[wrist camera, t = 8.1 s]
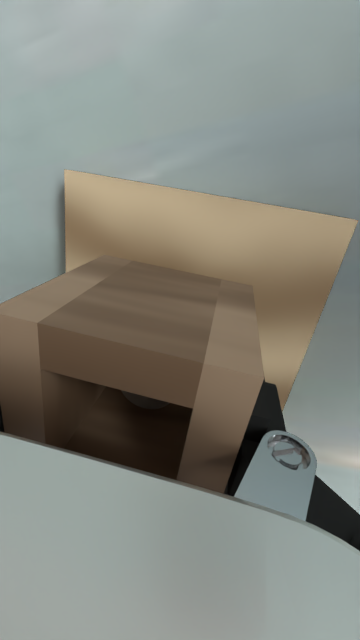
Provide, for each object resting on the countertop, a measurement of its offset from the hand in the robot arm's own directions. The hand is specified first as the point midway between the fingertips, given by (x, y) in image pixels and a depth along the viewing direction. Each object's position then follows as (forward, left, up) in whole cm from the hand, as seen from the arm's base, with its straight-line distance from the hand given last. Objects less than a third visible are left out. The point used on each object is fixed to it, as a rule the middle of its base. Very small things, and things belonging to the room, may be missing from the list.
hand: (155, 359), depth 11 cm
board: (+4, 0, -7) cm, 8 cm away
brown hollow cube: (0, 0, -1) cm, 1 cm away
